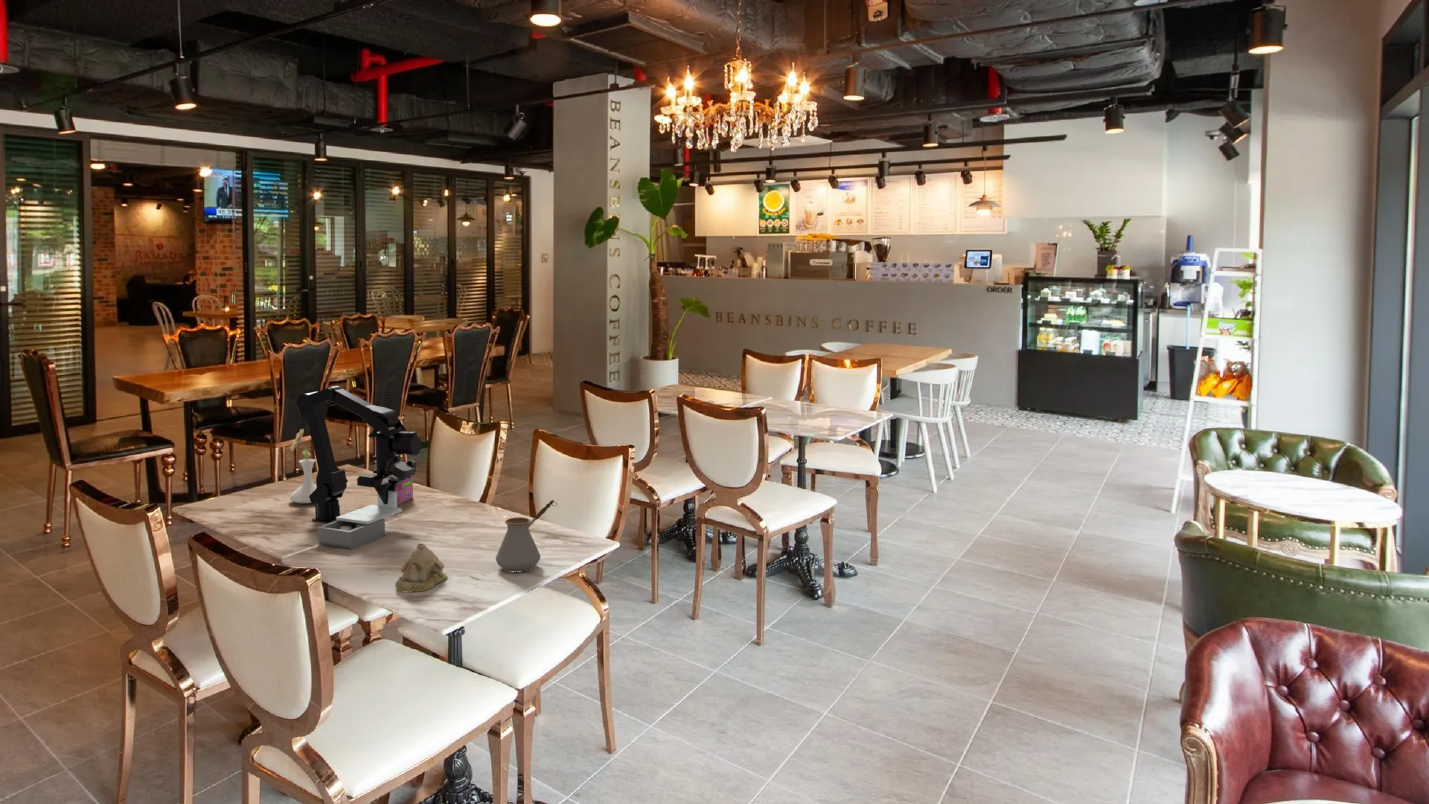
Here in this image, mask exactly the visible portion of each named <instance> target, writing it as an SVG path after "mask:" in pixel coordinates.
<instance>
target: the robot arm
mask: <svg viewBox="0 0 1429 804" xmlns="http://www.w3.org/2000/svg"><path fill="white" fill-rule="evenodd" d="M330 403H335V404H337V405H339V406H341V407H342V408H345V410H347V411H349V412H352V413H354V414H355V415H356V416H359V417H361V418H362V419H363V420H364V421H365V422H366V424H367V425H368V426H369V427H370V428H372V429H373V430H372V432H370V433H369V434H368V435H367V436H368V438H372V439H373V438H374V439H375V440H374V442H375V443H374V445H375V455H373V456H372V460H373V461H375V469H372V473H373V474H372V473H365V474H362V475H359V476H358V477H357V478H356V483H357V486H358V487H365V488H374V490H375V491H376V493H377V496H378V495H379V496H380V498H381V500H382V502H383V503H384V504H387V503H388V490H389V491H395V489H396V487H397V485H398V484H399V483H400V482H401V481H403V480H405V479H408V478H411V476H412V475H413V476H414V475H415V473H416V472H417V464H416V461H415V460H412V459H410V460H408V461H401V456H400V455H411V456H417V455H418V454H419V453H420V452H421V451H422V450H421V449H422V441H421V438H420V437H419V436H418V432H417V431H407V429H406V427H405V426H404V424H403V423H402V421H401V420H400V419H399V416H398V413H397V412H396V411H395V410H393V409H390V408H387V407H384V406H378V405H374V404H372V403H370V402H368V401H366V400H364V399H362V398H361V397H358V396H356V395H355V394H353V393H351V392H349V391H347V390H346V389H344V388H343V387H342V386H340V385H334V386H328V387H326V388H323V389H322V390H320V391H312V392H307V393H302V394H300V395H299V396H298V397H297V399H296V401H295V405H296V408H297V410H298V413H299V415H300V417H301V418H302V419H303V420H304V421H305V422H306V424H307V425H308V431H309V435H310V439H311V443H312V447H313V451H314V455H315V456H314V457H315V460H316V461H315V462H316V465H317V468H318V469H317V474H316V477H315V478H316V479H315V483H316V484H315V485H316V487H317V488H316V489H315V490H314V491H313V492H312V494H311V495H310V496H309V498H310V501H311V503H310V504H314V506H315V507H314V509H315V511H314V512H315V513H314V514H315V517H313V518H311V521H312V522H318V523H325V524H329V523H332V522H335V521H337V520H336V517H338V516H341V511H340V510H341V505H340V504H339V501H340V500H339V499H340V498H343V495H344V492H345V491H346V489H347V487H348V485H347V484H348V482H349V480H348V479H347V475H346V470H345V469H340V468H339V467H338V466H337V464H336V461H335V457H334V452H333V447H332V443H331V439H330V435H329V431H328V426H327V424H326V423H327V422H326V417H327V414H328V404H330Z"/></svg>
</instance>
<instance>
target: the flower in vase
mask: <svg viewBox="0 0 1429 804" xmlns="http://www.w3.org/2000/svg"><path fill="white" fill-rule="evenodd" d="M304 431H305V430H304V428H302V429H301V428H300V429H299V432H297V433H296V435H295V439H293V440H292V444H291V446H290V447H289V449H290V452H291V451H292V452H293V451H294V450H295V449H296V448H297V447H298V445H299V443H300V444H301V445H302V446H303V448H304V449H303V451H302V455H303V458H302V459H300V460H298V463H299V464H300V465H301V467H302V470H303V479H304V480H303V483H302V484H301V485H300V486H299V487H298V488H296V489H295V490H294V491H293V492H292V493H291V494H290V496H289V500H290V501H291V502H294V503H296V504H312V503H311V501H310V498H309V496H310V495H311V494H312V492H313V491H314V490H315V489H316V488H317V487H316V484H315V483H314V481H313V478H312V477H313V476H312V475H313V466H314V464H315V462H317V461H316V459H314V458H309V457H310V456H311V455H312V454H311V453H310V451H309V450H308V449H307V448H306V446H305V445H304V443H303V441H302V438H303V436H304Z"/></svg>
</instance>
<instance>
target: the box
mask: <svg viewBox="0 0 1429 804" xmlns="http://www.w3.org/2000/svg"><path fill="white" fill-rule="evenodd" d="M413 476H414V475H412V476H411V478H408V479H405V480H403V481H401V482H400V483H399V484H398V485H397V487H396V489H395V491H396V492H397V506H399V505H400V504H403V503H404V501H405V502H407V501H408V500H410V499H413V498H414V487H413V484H414V483H413V481H414V479H413V478H414V477H413ZM398 504H399V505H398Z"/></svg>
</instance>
